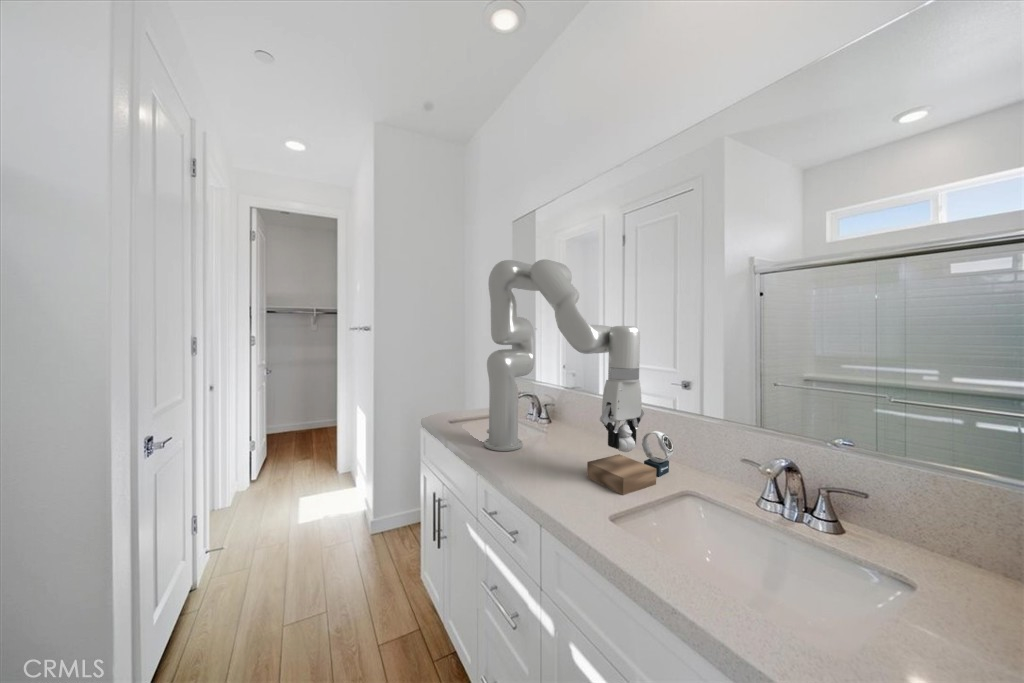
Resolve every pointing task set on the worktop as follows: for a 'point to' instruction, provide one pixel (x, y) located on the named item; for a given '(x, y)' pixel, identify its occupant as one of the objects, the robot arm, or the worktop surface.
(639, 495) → the worktop surface
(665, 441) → the watch
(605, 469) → the walnut base
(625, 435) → the rubber duck
